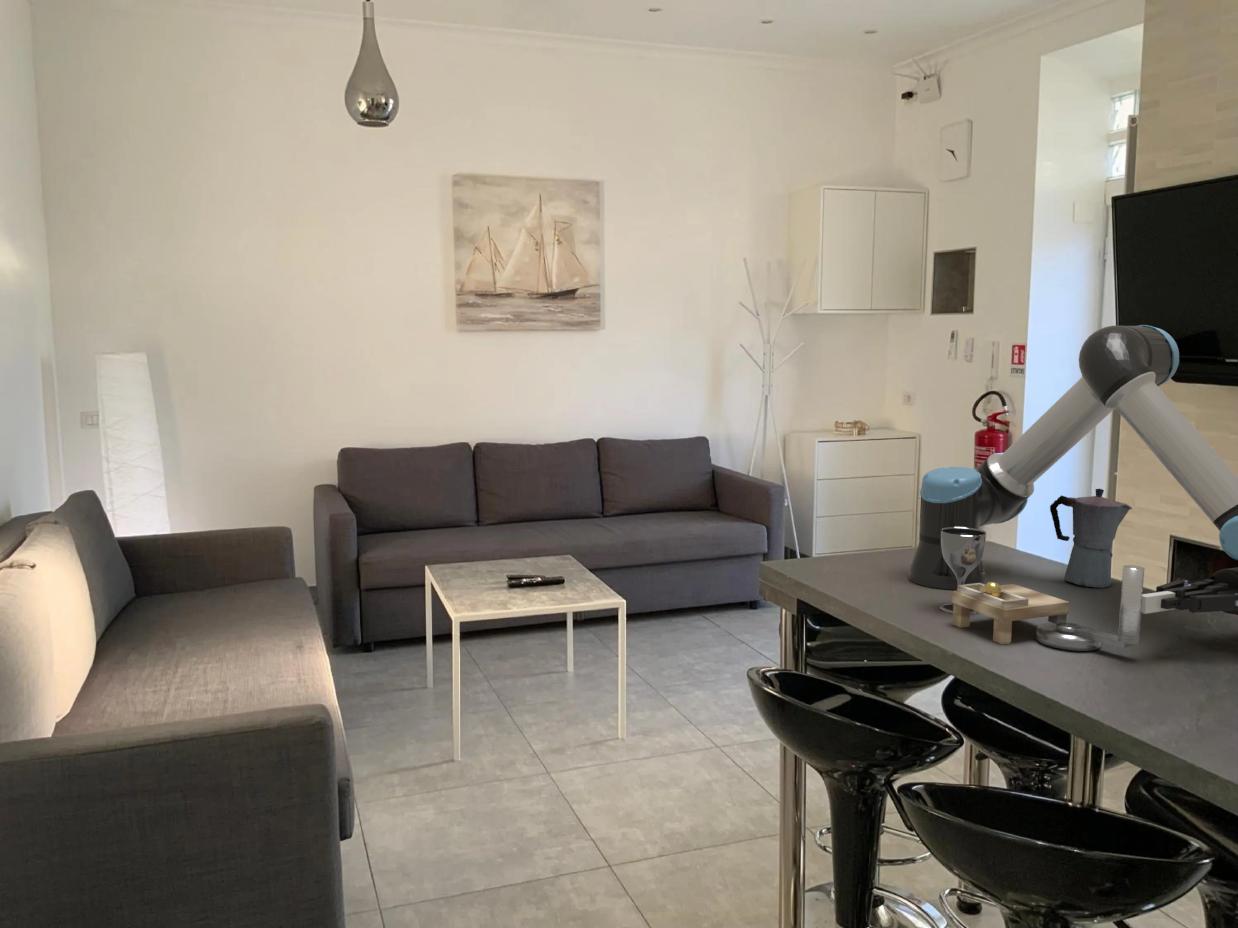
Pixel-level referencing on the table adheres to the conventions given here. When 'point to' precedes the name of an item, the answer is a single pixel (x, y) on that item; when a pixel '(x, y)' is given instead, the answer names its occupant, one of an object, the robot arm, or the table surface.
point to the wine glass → (962, 553)
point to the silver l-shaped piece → (1090, 639)
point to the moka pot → (1090, 537)
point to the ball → (992, 589)
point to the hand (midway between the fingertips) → (1141, 604)
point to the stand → (1006, 607)
